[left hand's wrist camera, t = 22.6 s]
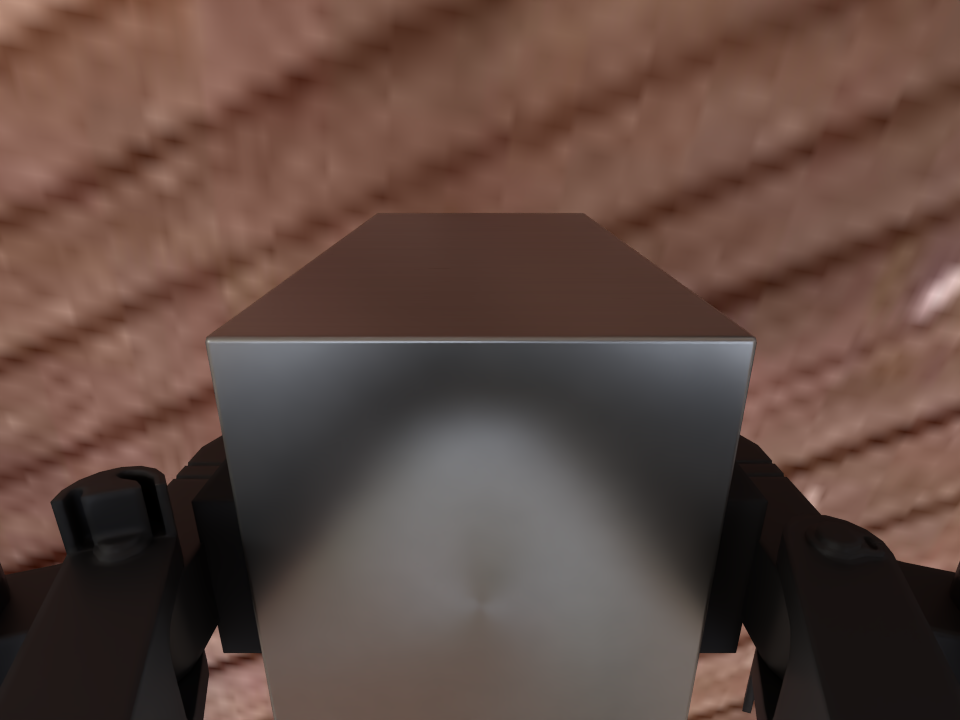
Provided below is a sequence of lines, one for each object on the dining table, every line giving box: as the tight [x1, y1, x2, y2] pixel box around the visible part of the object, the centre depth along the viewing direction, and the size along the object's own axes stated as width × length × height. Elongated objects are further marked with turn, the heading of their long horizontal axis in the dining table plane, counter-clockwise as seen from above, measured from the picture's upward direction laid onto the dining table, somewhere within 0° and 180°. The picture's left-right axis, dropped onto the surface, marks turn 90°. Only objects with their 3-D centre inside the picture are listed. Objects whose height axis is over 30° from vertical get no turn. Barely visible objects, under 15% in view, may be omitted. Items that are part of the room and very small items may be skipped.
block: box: [206, 213, 756, 720], centre depth 13 cm, size 6×8×12 cm
